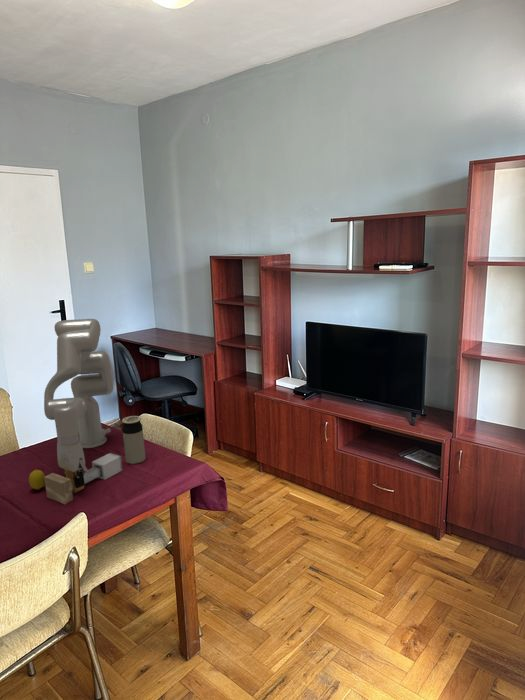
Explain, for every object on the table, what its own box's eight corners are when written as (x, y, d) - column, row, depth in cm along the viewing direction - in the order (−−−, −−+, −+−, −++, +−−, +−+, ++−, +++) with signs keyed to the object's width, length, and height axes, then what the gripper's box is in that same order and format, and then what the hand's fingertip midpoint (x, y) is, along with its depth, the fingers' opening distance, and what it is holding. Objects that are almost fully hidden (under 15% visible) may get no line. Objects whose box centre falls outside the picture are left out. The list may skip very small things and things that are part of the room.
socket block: (55, 492, 181) (52, 472, 180) (73, 499, 176) (70, 479, 174) (47, 497, 179) (44, 476, 177) (64, 504, 173) (61, 483, 171)
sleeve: (111, 466, 200) (110, 452, 199) (122, 470, 197) (121, 456, 196) (93, 476, 193) (91, 461, 192) (104, 479, 190) (102, 465, 188)
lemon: (37, 494, 181) (33, 474, 179) (27, 491, 183) (24, 471, 182) (50, 487, 185) (47, 468, 184) (40, 484, 188) (37, 465, 186)
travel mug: (148, 456, 209) (144, 415, 204) (140, 464, 201) (136, 423, 197) (130, 455, 210) (126, 415, 206) (122, 463, 202) (117, 422, 198)
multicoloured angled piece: (98, 473, 194) (96, 452, 192) (106, 476, 192) (103, 454, 189) (55, 496, 178) (52, 473, 176) (63, 499, 176) (59, 476, 174)
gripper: (45, 437, 180) (51, 483, 184) (75, 447, 171) (81, 495, 175) (63, 430, 186) (69, 475, 190) (93, 439, 177) (99, 485, 181)
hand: (75, 484), depth 182 cm, fingers open, 5 cm apart
